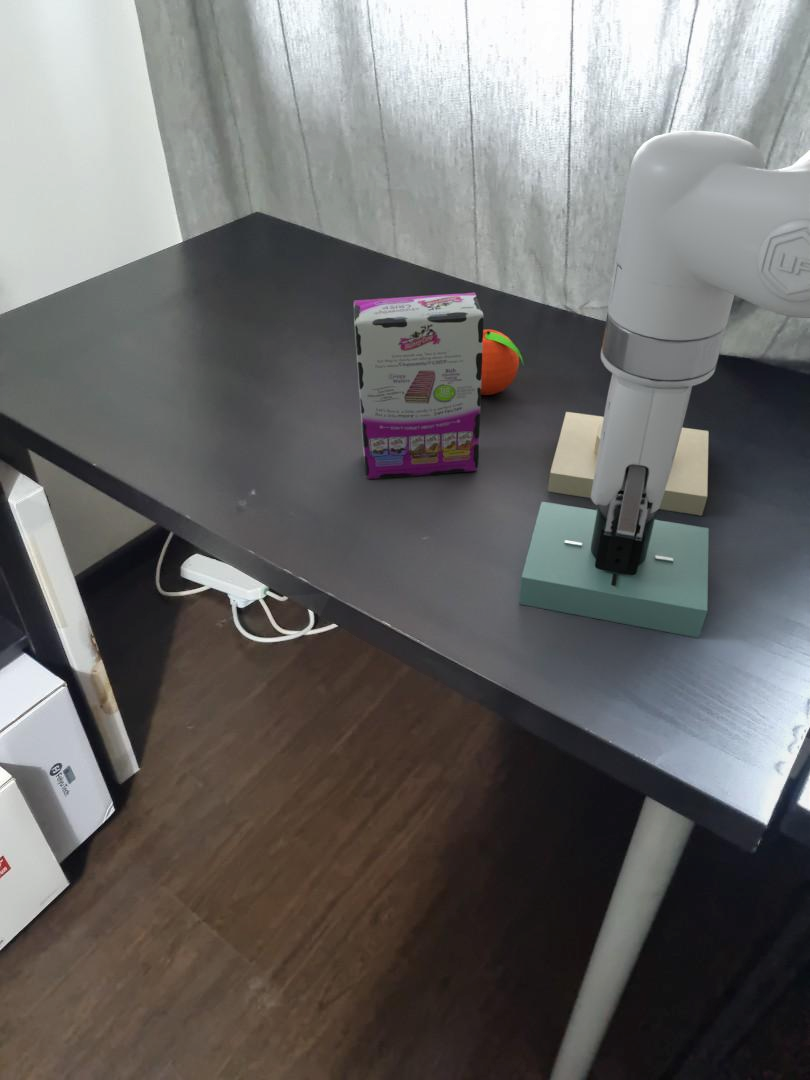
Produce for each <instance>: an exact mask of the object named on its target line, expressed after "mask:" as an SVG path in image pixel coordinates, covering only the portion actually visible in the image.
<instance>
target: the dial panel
mask: <svg viewBox="0 0 810 1080" xmlns="http://www.w3.org/2000/svg"><path fill="white" fill-rule="evenodd" d="M596 514H597V509H592V508H584V507H578V506H572V505H566V504H560V503H553V502H548V501H547V502H546V501H541V503H540V506H539V509H538V513H537V517H536V521H535V525H534V529H533V532H532V536H531V539H530V540H531V541H530V543H529V546H528V550H527V555H526V558H525V562H524V566H523V569H522V573H521V578H520V587H519V597H518V605H522V606H528V607H532V608H537V609H543V610H549V611H553V612H559V613H565V614H570V615H575V616H580V617H585V618H591V619H596V620H602V621H605V622H606V621H608V622H612V623H616V624H617V623H618V624H622V625H627V626H634V627H638V628H644V629H649V630H654V631H655V630H656V631H659V632H666V633H670V634H675V635H680V636H685V637H692V638H695V639H699V638H700V636H701V633H702V629H703V627H704V623H705V620H706V616H707V614H708V607H709V606H708V605H709V604H708V603H709V600H708V599H709V597H708V596H709V593H708V592H709V545H710V543H709V540H710V539H709V538H710V537H709V535H710V533H709V532H710V528H708V527H703V526H697V525H690V524H684V523H679V522H678V523H677V522H671V521H666V520H659V519H655V521H654V525H653V529H652V534H651V538H650V542H649V546H648V551H647V555H646V558H645V560H644V562H643V563H642V564H640V565H639V566H638V569H637V573H636V574H635V575H628V574H622V573H616V572H611V571H605V570H600V569H597V568H596V567H595V561H596V558H595V557H594V556H593V554H592V552H591V542H592V536H593V531H594V525H595V519H596Z"/></svg>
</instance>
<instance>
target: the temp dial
mask: <svg viewBox="0 0 810 1080" xmlns="http://www.w3.org/2000/svg"><path fill="white" fill-rule="evenodd" d="M618 494H624V491H619V492H618ZM642 497H643V498H645V497H644V496H643V495H642ZM609 505H610V503H609V504H608V505H607V506H604V505H599V504H598V505H597V509H596V510H597V514H596V519H595V525H594V531H593V536H592V542H591V552H592V554H593V556H594V557H595V558H596V556H597V551H598V545H599V540H600V534H601V529H602V525H603V526H606V521H607V516H608V510H609ZM620 510H621V507H616V512H615V517H619V516H620ZM639 512H640V510H639ZM656 515H657V511H655V512H653V513H651V514H650V510H648V513H647V517H646V522H645V527H644V532H645V539H644V543H643V548H642V552H641V556H640V561H639V565H640V564H642V563H643V562H644V560H645V558H646V555H647V551H648V546H649V542H650V538H651V534H652V529H653V525H654V521H655V520H656ZM638 516H639V514H638ZM614 519H615V518H614ZM637 521H638V519H637ZM639 565H638V566H639Z"/></svg>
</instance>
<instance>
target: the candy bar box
mask: <svg viewBox="0 0 810 1080" xmlns="http://www.w3.org/2000/svg"><path fill="white" fill-rule="evenodd" d="M477 298H478V296H477V294H476V292H467V293H465V292H464V293H450V294H447V293H446V294H434V295H433V294H431V295H418V296H417V295H416V296H404V297H403V296H402V297H390V298H375V299H374V298H373V299H358V300H355V299H354V300H353V317H354V318H353V321H354V323H353V325H354V340H355V351H356V353H355V354H356V366H357V380H358V394H359V409H360V425H361V440H362V453H363V465H364V475H365V478H366V479H368V480H375V479H389V478H391V479H392V478H403V477H414V476H415V477H416V476H429V475H441V474H454V473H465V472H476V471H478V470H479V459H480V457H479V456H480V454H479V453H480V431H481V428H480V427H481V400H482V399H481V397H482V395H481V377H482V347H483V330H484V326H485V325H484V319H485V318H484V317H485V315H484V313H483V311H482V308H481V306H480V303H479V301H478V299H477Z"/></svg>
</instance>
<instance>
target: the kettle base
mask: <svg viewBox="0 0 810 1080" xmlns="http://www.w3.org/2000/svg"><path fill="white" fill-rule="evenodd" d="M563 418H564V419H563V423H562V426H561V428H560V429H561V430H560V434H559V437H558V441H557V445H556V449H555V452H554V456H553V460H552V463H551V468H550V472H549V479H548V484H547V485H548V486H547V492H548V493H555V494H562V495H568V496H573V497H574V496H575V497H581V498H587V499H591V492H592V486H593V480H594V474H595V467H596V461H597V455H598V450H599V443H600V437H601V431H602V425H603V419H604V416H601V415H595V414H586V413H579V412H572V411H565V415H564V417H563ZM709 436H710V435H709V430H702V429H696V428H689V427H682V430H681V434H680V438H679V442H678V446H677V450H676V453H675V457H674V461H673V464H672V468H671V471H670V475H669V478H668V482H667V485H666V489H665V492H664V495H663V498H662V502H661V505H660V507H659V509H658V510H663V511H670V512H676V513H681V514H687V515H688V514H689V515H694V516H700V517H701V516H703V514H704V511H705V506H706V504H707V499H708V488H709V487H708V485H709V483H708V482H709Z"/></svg>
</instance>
